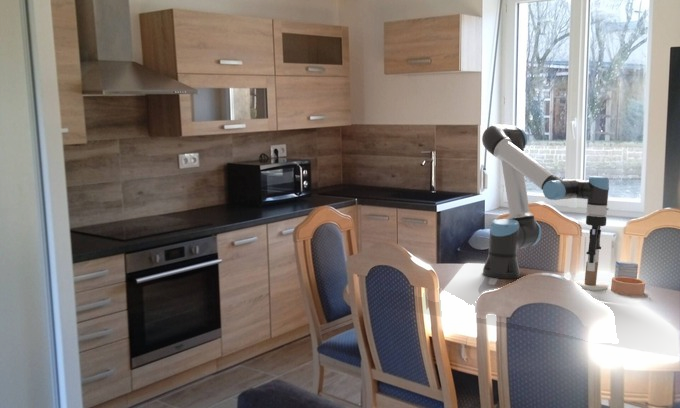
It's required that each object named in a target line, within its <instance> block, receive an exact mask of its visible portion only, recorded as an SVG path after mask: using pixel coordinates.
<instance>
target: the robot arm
mask: <svg viewBox="0 0 680 408" xmlns="http://www.w3.org/2000/svg"><path fill="white" fill-rule="evenodd" d="M481 140H482V141H481V142H482V145H483V147H484V148H485V150H486V151H487V152H488V153H490V154H491V155H492V156H493V157H495V158H497V159H498V160H500V161H501V167H502V172H503V173H502V174H503V179H504V186H505V192H506V199H507V207H508V213H509V214H508V216H507V218H500V219H498V218H497V219H495V220H492V222H491V223H490V228H489V241H488V242H489V245H488V255H487V258H486V260H485V264H484V265H483V270H482V273H483V275H484V276H486V277H490V278H493V279H494V278H495V279H496V278H497V279H507V280H511V279H512V280H513V279H518V278H519V277H520V273H521V272H520V271H521V270H520V268H519V263H518V259H517V255H518V253H517V252H518V249H527V248H531V247H533V246H535V245H536V244H538V243H539V241H540V239H541V238H542V227H541V225H540V224H539V223H538V222H537V221H536V220H535V215H534V214H533V213H532V212H530V205H529V198H528V191H527V185H526V181H525V178H526V179H528V180H529V181H530V182H531V183H532V184H534V185H535V186H536V187H538V188H539V189H541V190H542V193H543V195H544V197H545V198H546V199H548V200H551V201H553V200H554V201H559V200H567V199H580V200H587V201H586V214H587V215H586V217H585V224H586V225H588V226H591V229H589V240H588V241H589V242H588V250H587V251H586V255H587V261H588V265H587V271H595V262H597V263H598V264H599V259H600V257H599V255H600V250H602V246H601V234H602V230H601V227H605V226H607V216H606V215H607V213H608V211H609V210H610V209H609V207H608V200H609V190H610V184H609V182H610V180H609V177H607V176H601V175H600V176H598V175H593V176H592V175H591V176H589V179H588V180H583V179H574V178H563V179H560V178H559V177H557V175H555V174H553V173H552V172H551V171H550V170H548V169H547V168H546V167H544V166H543V165H542V164H540V163H539V162H537V160H535V159H533V157H531V156H530V155H528V154H527V153H525V148H526V146H527V143H528V136H527V133H526V131H525V130H524V129H523V128H522V127H520V126H517V125H513V124H494V125H490V126H489V127H487V128H486V129H485V130H484V132H483V133H482V137H481Z"/></svg>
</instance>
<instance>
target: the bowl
mask: <svg viewBox="0 0 680 408" xmlns="http://www.w3.org/2000/svg"><path fill="white" fill-rule="evenodd" d="M610 285H611V286H610V291H612V292H614V293H616V294H620V295H625V296H644V295H645V289H646V288H645V287H646V281H644V280H642V279H639V278H637V279H635V278H629V277H615V276H614V277H612V278H611V284H610Z"/></svg>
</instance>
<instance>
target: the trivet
mask: <svg viewBox="0 0 680 408" xmlns="http://www.w3.org/2000/svg"><path fill="white" fill-rule="evenodd" d="M606 285H607V289H606V290H593V291H594V292H600V293H601V292H603V293H606V292H607V290H608V288H609V287H610V286H609V284H606ZM585 290H587V289H585Z"/></svg>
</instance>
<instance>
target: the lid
mask: <svg viewBox="0 0 680 408" xmlns="http://www.w3.org/2000/svg"><path fill="white" fill-rule="evenodd" d="M587 265H588V260H587V261H586V263H585V273H584V280H581V279H580V280H575V282H576V283H577V284H578V285H580V286H581V287H582V288H583V289H582V290H586V289H587V290H588V291H594V290H606V289H607V290H608V288H607V285H608V284H606V283H603V282H599V281H597V277H598V267H599V262H598V263H597V262H595V271H587ZM607 290H606V291H607Z"/></svg>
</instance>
